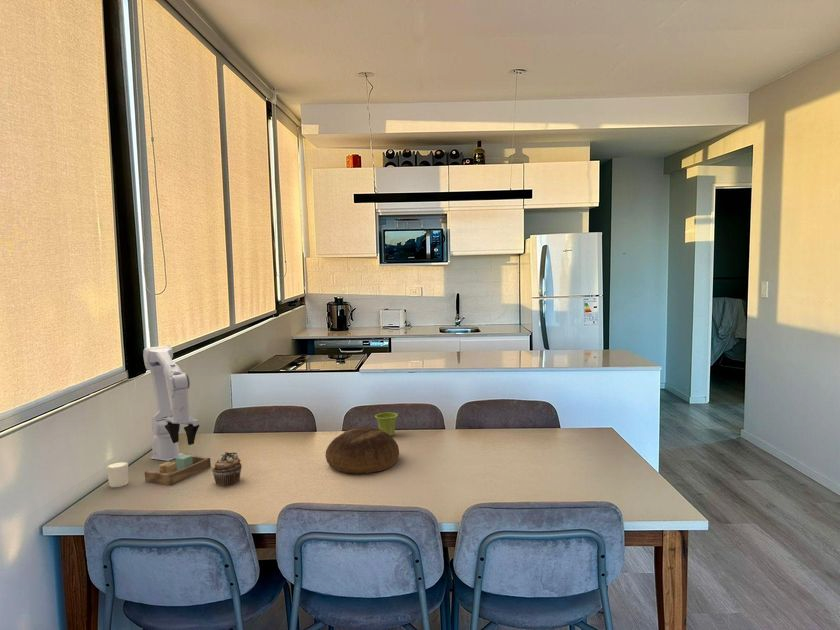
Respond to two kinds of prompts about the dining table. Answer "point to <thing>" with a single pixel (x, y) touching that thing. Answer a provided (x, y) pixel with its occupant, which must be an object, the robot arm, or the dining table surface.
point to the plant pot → (387, 422)
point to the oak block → (168, 468)
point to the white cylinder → (117, 474)
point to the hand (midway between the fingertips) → (183, 443)
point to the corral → (179, 472)
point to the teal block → (183, 461)
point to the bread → (362, 451)
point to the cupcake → (227, 470)
